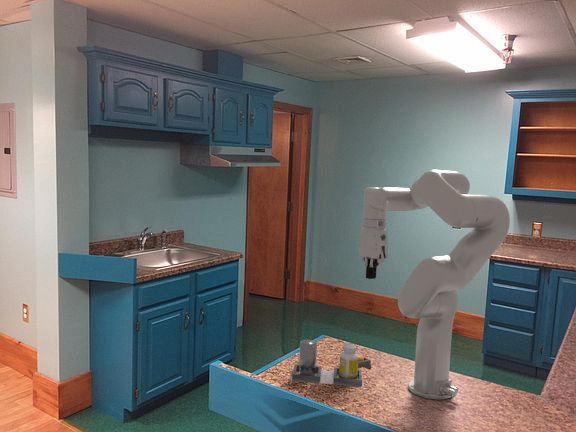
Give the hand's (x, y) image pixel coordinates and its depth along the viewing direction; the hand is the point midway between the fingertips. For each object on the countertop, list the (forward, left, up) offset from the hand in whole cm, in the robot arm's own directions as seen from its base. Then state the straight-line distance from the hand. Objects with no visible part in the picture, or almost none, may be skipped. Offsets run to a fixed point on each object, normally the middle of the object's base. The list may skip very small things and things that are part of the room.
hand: (370, 278), depth 167 cm
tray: (-11, +25, -27) cm, 38 cm away
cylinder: (-7, +29, -26) cm, 40 cm away
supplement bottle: (-15, +20, -26) cm, 36 cm away
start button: (-6, +9, -26) cm, 28 cm away
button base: (-6, +9, -27) cm, 29 cm away
